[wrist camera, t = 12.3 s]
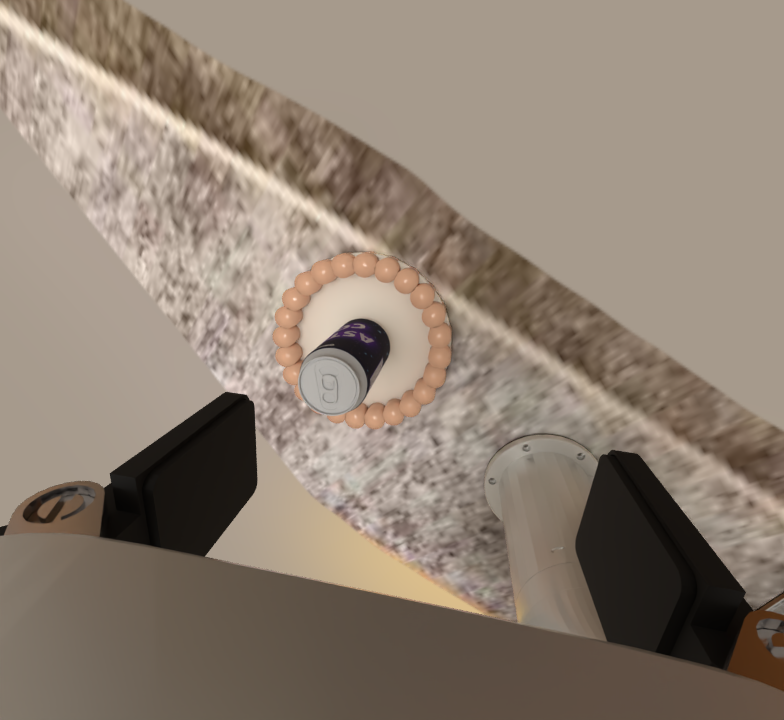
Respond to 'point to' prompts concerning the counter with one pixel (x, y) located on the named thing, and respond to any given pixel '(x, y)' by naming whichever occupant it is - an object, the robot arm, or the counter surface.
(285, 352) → the round dish
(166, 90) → the counter surface
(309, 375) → the beverage can
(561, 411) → the counter surface
